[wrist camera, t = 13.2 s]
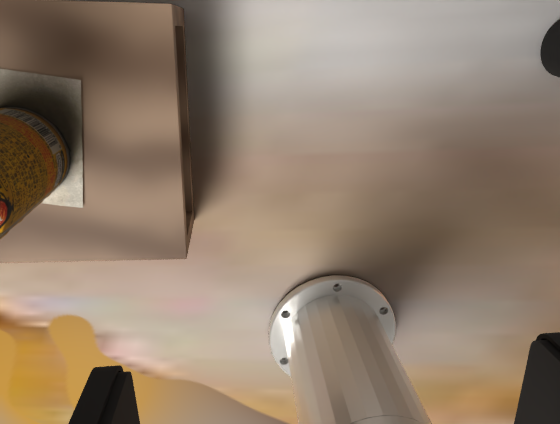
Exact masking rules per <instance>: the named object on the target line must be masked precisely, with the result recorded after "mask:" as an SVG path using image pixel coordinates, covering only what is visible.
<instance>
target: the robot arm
mask: <svg viewBox="0 0 560 424" xmlns="http://www.w3.org/2000/svg"><path fill="white" fill-rule="evenodd" d="M335 284H336V285H335ZM285 310H286V311H285ZM395 333H396V321H395V317H394V313H393V310H392V308H391V306H390V304H389V303H388V301H387V299H386V298H385V296H384V295H383V294H382V293H381V292H380V291H379V290H378V289H377V288H376V287H374V286H373V285H371V284H370V283H368V282H366V281H363V280H361V279H358V278H355V277H349V276H334V275H333V276H326V277H320V278H317V279H314V280H311V281H308V282H306V283H304V284H302V285H300V286H298V287H297V288H295V289H294V290H293V291H291V292H290V293H289V294H288V295H287V296H286V297H285V298H284V299H283V300H282V301H281V302H280V303H279V305H278V306H277V308H276V310H275V311H274V313H273V316H272V318H271V321H270V325H269V333H268V334H269V344H270V349H271V353H272V355H273V358H274V360H275V362H276V363H277V364H278V366H279V367H280V368H281V369H282V370H283V371H284V372H285V373H286V374H288V375H289V376H290V377H291V380H292V386H293V392H294V398H295V404H296V410H297V416H298V422H299V424H432V423H431V421H430V419H429V417H428V415H427V413H426V411H425V409H424V407H423V405H422V403H421V401H420V399H419V397H418V395H417V393H416V391H415V389H414V387H413V385H412V383H411V381H410V379H409V377H408V375H407V373H406V371H405V369H404V367H403V365H402V363H401V361H400V359H399V357H398V355H397V353H396V351H395V349H394V348H393V346H392V344H393V341H394V337H395ZM69 424H140V421H139V416H138V409H137V404H136V397H135V391H134V386H133V380H132V375H131V372H123V369H122V367H121V366H106V367H95V368H94V369H93V370H92V372H91V374H90V376H89V378H88V380H87V383H86V385H85V387H84V389H83V392H82V394H81V396H80V399H79V401H78V404H77V406H76V408H75V410H74V412H73V415H72V417H71V419H70V422H69ZM514 424H560V332H558V333H544V334H540V335H539V336H538V337H537V339H536V341H533V342H532V343H531V346H530V351H529V356H528V360H527V365H526V370H525V375H524V379H523V384H522V389H521V393H520V398H519V403H518V408H517V412H516V417H515V422H514Z"/></svg>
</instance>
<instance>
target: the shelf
mask: <svg viewBox="0 0 560 424" xmlns="http://www.w3.org/2000/svg"><path fill="white" fill-rule="evenodd" d="M0 69H8V70H13V71H20V72H28V73H35V74H41V75H49V76H56V77H64V78H70V79H77V80H81V105H82V153H83V158H82V161H83V208H79V207H68V206H59V205H52V204H43V203H40V204H39V205H38V206H37V207H36V208H34V209H33V210H32V211H31V212H30V213H29V214H28V215H26V216H25V217H24V219H23V220H22V221H21V222H20V223H18V224H17V225H15V226H14V227H13V228H12V229H10V231H9V232H8V233H7V235H5V236H4V237H3V238H2V239H0V263H27V262H71V261H115V260H159V259H186V258H187V253H188V248H189V243H190V238H191V233H192V228H193V223H194V209H193V189H192V169H191V149H190V129H189V108H188V88H187V68H186V48H185V28H184V9H183V8H181V7H178V6H176V5H173V4H160V3H128V2H96V1H63V0H0Z"/></svg>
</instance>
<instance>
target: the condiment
mask: <svg viewBox="0 0 560 424" xmlns="http://www.w3.org/2000/svg"><path fill="white" fill-rule="evenodd" d="M82 158H83V153H82V105H81V80H77V79H70V78H64V77H56V76H49V75H41V74H35V73H28V72H20V71H13V70H8V69H0V239H2V238H3V237H4V236H5V235H7V233H8V232H9V231H10V229H12V228H13V227H14V226H15V225H17V224H18V223H20V222H21V221H22V220H23V219H24V217H25V216H26V215H28V214H29V213H30V212H31V211H32V210H33V209H34V208H36V207H37V206H38V205H39V204H40V203H43V204H52V205H59V206H68V207H79V208H83V161H82Z"/></svg>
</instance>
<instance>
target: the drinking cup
mask: <svg viewBox="0 0 560 424" xmlns="http://www.w3.org/2000/svg"><path fill="white" fill-rule="evenodd" d="M541 60H542V63H543V66H544V67H545V69H546V70H547V71H548V72H549V73H551V74H552V75H555V76H557V77H560V20H559V21H557V22H556V23H555V24H554V25H553V26H552V27H551V28H550V29H549V31H548V32H547V34H546V35H545V37H544V39H543V42H542V46H541Z"/></svg>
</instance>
